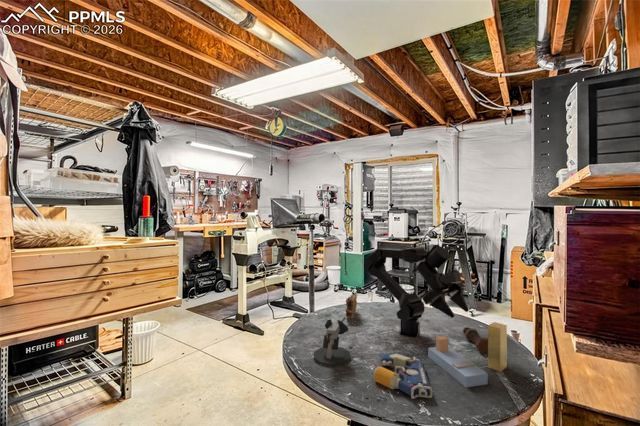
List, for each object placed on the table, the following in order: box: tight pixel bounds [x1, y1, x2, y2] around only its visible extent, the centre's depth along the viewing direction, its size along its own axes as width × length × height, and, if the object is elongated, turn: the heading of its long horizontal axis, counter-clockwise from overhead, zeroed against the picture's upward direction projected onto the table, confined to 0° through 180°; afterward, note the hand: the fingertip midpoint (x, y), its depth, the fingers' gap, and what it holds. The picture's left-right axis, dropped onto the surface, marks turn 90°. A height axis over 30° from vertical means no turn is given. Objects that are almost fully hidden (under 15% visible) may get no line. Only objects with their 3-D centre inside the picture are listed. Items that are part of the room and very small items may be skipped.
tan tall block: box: [487, 321, 508, 373], centre depth 94 cm, size 4×4×13 cm
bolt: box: [462, 326, 488, 355], centre depth 110 cm, size 6×5×15 cm
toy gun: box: [373, 352, 433, 400], centre depth 88 cm, size 21×4×15 cm
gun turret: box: [313, 315, 351, 368], centre depth 104 cm, size 13×20×13 cm, turn 161°
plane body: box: [427, 335, 489, 388], centre depth 93 cm, size 18×7×7 cm, turn 13°
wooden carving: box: [345, 293, 358, 319], centre depth 139 cm, size 16×5×10 cm, turn 169°
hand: (460, 314), depth 103 cm, fingers open, 9 cm apart
